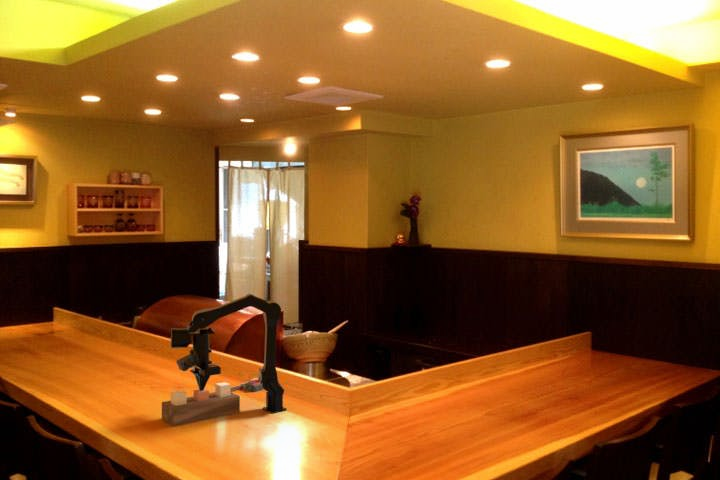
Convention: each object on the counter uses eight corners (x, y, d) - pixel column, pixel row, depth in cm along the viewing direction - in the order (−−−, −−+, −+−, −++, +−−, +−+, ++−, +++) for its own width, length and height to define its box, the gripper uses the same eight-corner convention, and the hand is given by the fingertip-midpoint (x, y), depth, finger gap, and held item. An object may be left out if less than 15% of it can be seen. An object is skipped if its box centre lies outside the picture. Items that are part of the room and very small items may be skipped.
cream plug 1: (186, 408, 240) (186, 392, 240) (175, 410, 238) (175, 394, 238) (181, 406, 244) (181, 389, 243) (170, 408, 241) (170, 391, 241)
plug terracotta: (209, 406, 246) (209, 390, 246) (198, 409, 243) (198, 392, 243) (203, 404, 249) (203, 388, 249) (193, 406, 246) (193, 390, 246)
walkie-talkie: (262, 383, 293) (225, 393, 277) (262, 372, 292) (225, 382, 277) (277, 386, 287) (239, 397, 272) (277, 376, 287) (239, 385, 272)
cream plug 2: (230, 400, 251) (230, 384, 251) (220, 402, 249) (220, 386, 248) (225, 397, 254) (225, 382, 254) (215, 399, 252) (215, 383, 251)
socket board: (239, 412, 250) (239, 396, 250) (174, 426, 235) (173, 408, 234) (226, 406, 258) (226, 390, 258) (161, 419, 242) (161, 402, 242)
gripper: (168, 345, 247) (168, 388, 248) (191, 354, 233) (192, 400, 234) (197, 341, 254) (197, 383, 255) (221, 349, 240) (221, 394, 241)
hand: (201, 390), depth 246 cm, fingers closed, pressing on plug terracotta
